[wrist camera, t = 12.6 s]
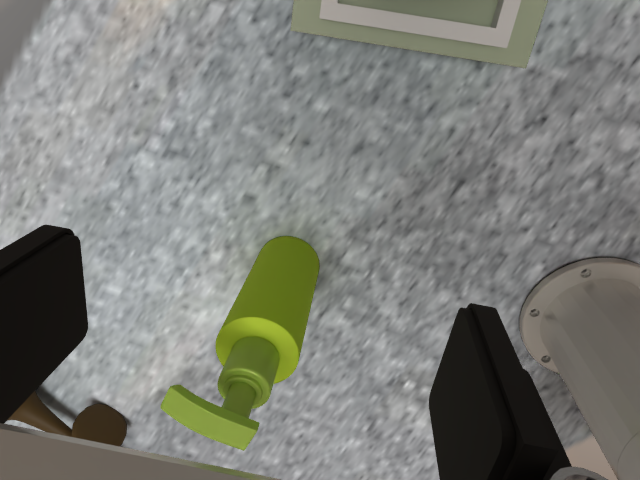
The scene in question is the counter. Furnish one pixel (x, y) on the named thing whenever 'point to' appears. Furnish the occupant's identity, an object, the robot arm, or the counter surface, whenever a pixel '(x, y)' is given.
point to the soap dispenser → (254, 343)
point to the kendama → (89, 424)
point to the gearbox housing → (430, 25)
